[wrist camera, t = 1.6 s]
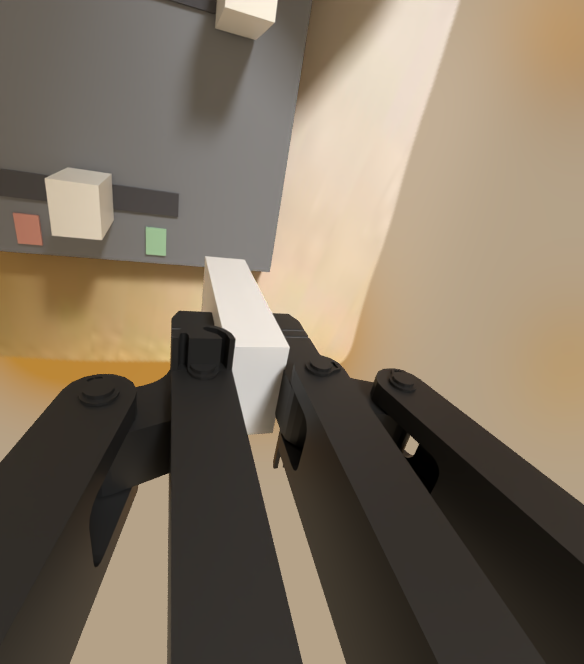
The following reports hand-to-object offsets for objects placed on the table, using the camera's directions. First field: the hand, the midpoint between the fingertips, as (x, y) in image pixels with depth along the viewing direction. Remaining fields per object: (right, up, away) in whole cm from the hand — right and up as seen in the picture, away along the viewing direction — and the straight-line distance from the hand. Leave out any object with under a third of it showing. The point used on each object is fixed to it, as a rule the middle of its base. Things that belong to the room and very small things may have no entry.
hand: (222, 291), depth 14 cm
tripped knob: (-11, +7, +10) cm, 16 cm away
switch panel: (-7, +14, +10) cm, 18 cm away
